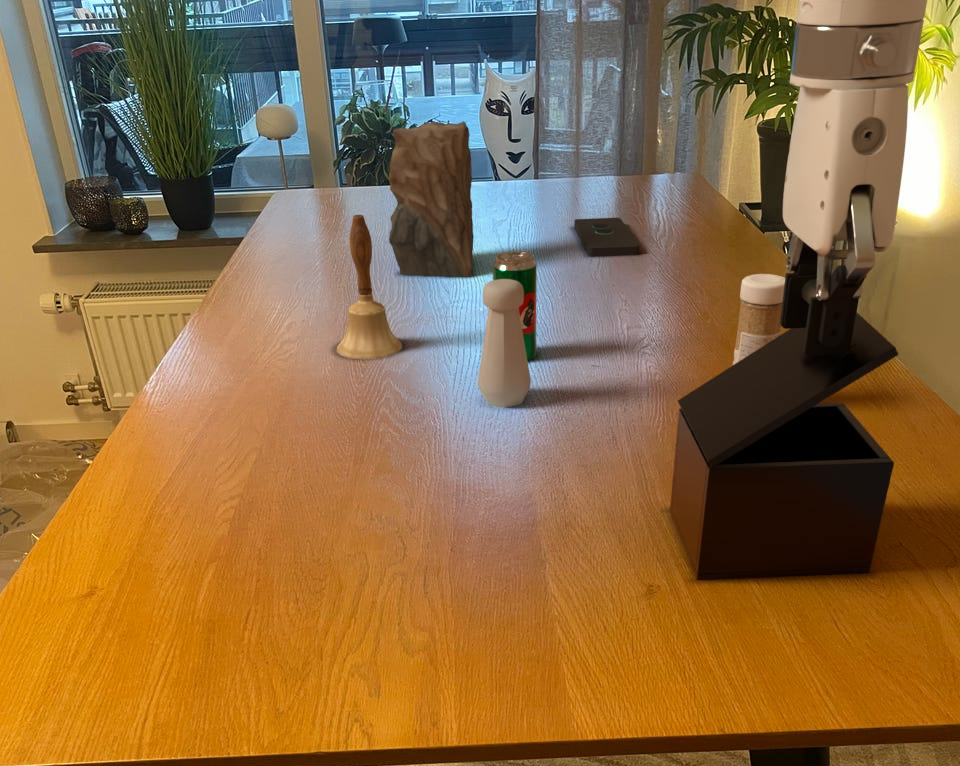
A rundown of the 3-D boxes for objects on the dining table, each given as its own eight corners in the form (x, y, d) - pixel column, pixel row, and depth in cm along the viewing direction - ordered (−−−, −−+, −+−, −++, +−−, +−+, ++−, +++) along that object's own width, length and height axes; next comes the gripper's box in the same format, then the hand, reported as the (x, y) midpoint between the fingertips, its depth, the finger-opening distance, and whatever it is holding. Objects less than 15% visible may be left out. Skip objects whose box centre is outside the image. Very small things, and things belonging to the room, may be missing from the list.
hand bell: (416, 348, 126) (407, 213, 117) (365, 366, 121) (352, 227, 112) (373, 334, 131) (362, 204, 122) (323, 351, 126) (307, 216, 117)
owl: (389, 278, 152) (378, 132, 141) (411, 256, 162) (402, 118, 151) (471, 280, 150) (466, 132, 139) (487, 258, 160) (484, 118, 149)
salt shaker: (484, 415, 108) (480, 292, 100) (473, 395, 112) (469, 276, 105) (536, 409, 109) (537, 287, 101) (524, 390, 113) (523, 272, 106)
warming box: (823, 507, 88) (843, 402, 83) (868, 576, 79) (894, 462, 73) (669, 514, 88) (678, 408, 83) (696, 583, 79) (709, 469, 73)
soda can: (539, 352, 123) (540, 250, 117) (532, 366, 119) (532, 262, 113) (499, 350, 124) (497, 249, 118) (490, 364, 120) (488, 261, 114)
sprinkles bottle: (737, 396, 110) (752, 270, 102) (777, 404, 108) (796, 276, 100) (720, 410, 107) (734, 281, 99) (760, 418, 105) (778, 287, 97)
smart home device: (620, 216, 174) (641, 245, 157) (620, 226, 175) (640, 256, 158) (572, 218, 173) (588, 247, 157) (572, 228, 174) (588, 258, 158)
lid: (843, 304, 78) (818, 253, 76) (898, 354, 69) (872, 298, 66) (681, 407, 83) (653, 361, 80) (712, 468, 73) (681, 418, 71)
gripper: (972, 67, 56) (908, 379, 67) (866, 39, 70) (827, 301, 81) (839, 75, 56) (796, 386, 67) (759, 46, 70) (734, 307, 81)
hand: (813, 337), depth 74 cm, fingers closed on lid, 5 cm apart
